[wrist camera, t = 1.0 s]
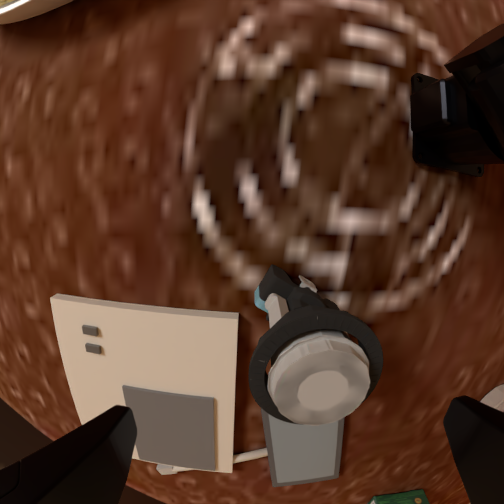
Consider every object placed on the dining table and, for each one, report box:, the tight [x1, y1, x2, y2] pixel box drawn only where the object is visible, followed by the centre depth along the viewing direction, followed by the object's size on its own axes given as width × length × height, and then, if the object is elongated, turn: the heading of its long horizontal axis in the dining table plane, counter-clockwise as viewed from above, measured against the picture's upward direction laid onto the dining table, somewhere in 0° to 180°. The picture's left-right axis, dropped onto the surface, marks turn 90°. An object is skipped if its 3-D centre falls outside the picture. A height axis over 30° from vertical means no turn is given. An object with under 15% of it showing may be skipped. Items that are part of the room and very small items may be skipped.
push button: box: [249, 265, 383, 426], centre depth 15 cm, size 7×5×10 cm
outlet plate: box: [50, 294, 239, 473], centre depth 21 cm, size 14×16×1 cm
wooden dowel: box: [156, 448, 268, 475], centre depth 23 cm, size 13×1×1 cm, turn 112°
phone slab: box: [261, 408, 344, 487], centre depth 22 cm, size 6×12×1 cm, turn 7°
